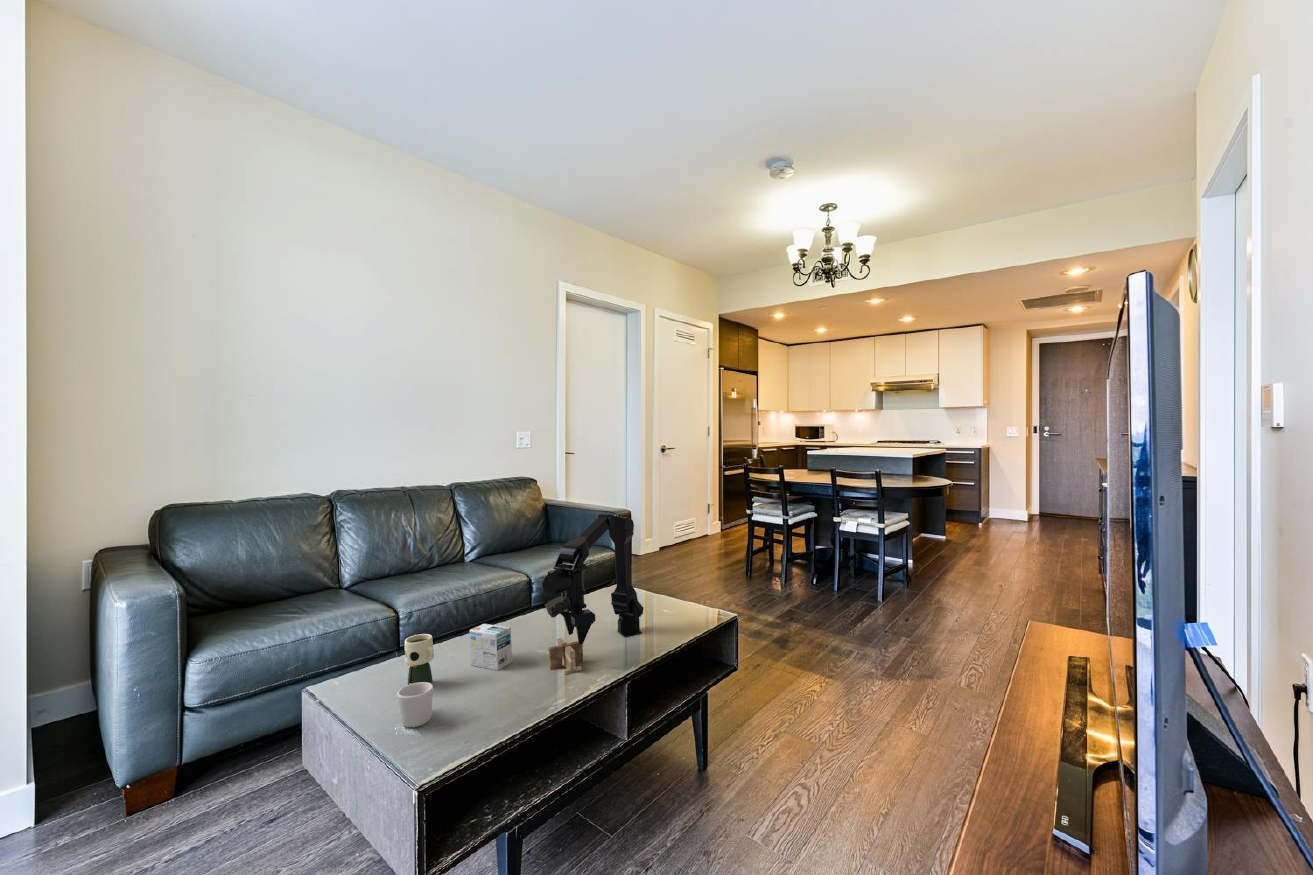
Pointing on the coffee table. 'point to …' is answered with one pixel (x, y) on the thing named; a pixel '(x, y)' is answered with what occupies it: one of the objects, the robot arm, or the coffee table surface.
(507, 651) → the light bulb box
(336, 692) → the coffee table surface
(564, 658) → the maple jig
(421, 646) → the character mug
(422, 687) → the cup
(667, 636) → the coffee table surface
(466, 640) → the coffee table surface
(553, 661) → the walnut plate
